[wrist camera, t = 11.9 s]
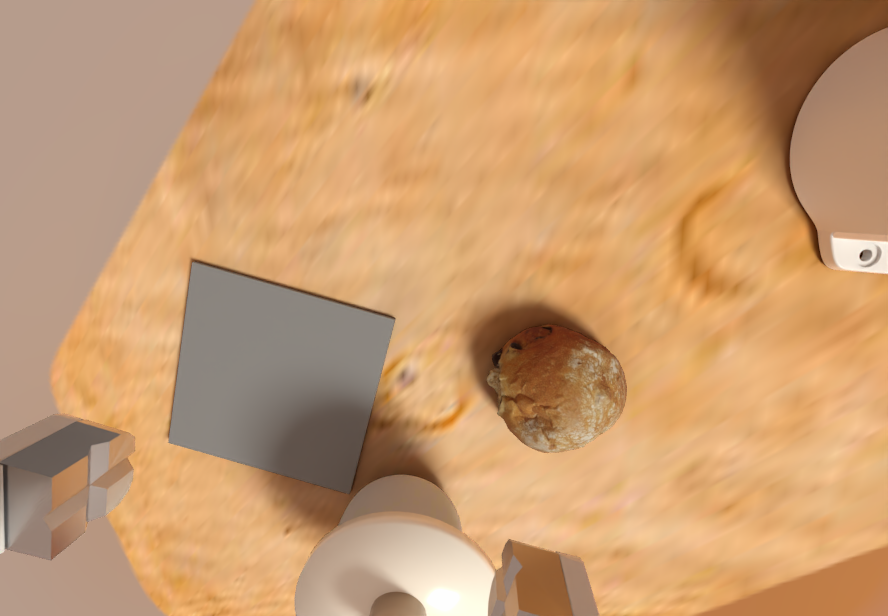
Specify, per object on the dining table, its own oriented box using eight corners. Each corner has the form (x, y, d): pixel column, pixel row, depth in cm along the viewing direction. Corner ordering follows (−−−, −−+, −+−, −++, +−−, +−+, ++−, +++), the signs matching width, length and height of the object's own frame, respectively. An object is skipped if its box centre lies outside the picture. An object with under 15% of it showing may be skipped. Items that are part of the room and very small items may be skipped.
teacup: (332, 473, 38) (296, 542, 30) (444, 441, 36) (437, 504, 28) (387, 595, 40) (367, 686, 32) (493, 569, 39) (499, 659, 31)
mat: (395, 318, 34) (394, 319, 33) (350, 491, 38) (349, 494, 37) (195, 261, 34) (192, 261, 33) (171, 440, 38) (168, 442, 37)
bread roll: (533, 421, 39) (580, 492, 32) (454, 382, 34) (491, 456, 27) (606, 344, 37) (672, 403, 30) (534, 289, 32) (595, 345, 25)
